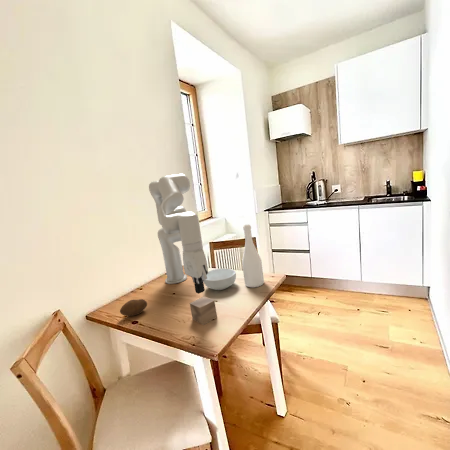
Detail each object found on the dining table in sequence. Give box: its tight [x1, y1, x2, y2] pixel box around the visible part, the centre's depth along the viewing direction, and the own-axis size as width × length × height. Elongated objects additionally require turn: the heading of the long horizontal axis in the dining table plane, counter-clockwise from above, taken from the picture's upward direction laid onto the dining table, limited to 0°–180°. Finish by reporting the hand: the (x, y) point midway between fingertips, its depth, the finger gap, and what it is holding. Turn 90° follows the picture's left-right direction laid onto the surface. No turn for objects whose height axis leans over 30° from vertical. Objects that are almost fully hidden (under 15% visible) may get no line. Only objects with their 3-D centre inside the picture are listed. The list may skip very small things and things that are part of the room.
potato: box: [119, 298, 148, 317], centre depth 113 cm, size 7×12×7 cm, turn 131°
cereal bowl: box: [203, 267, 237, 291], centre depth 130 cm, size 17×17×7 cm
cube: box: [189, 295, 218, 326], centre depth 101 cm, size 7×7×7 cm
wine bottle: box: [241, 223, 265, 288], centre depth 125 cm, size 10×10×30 cm
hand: (200, 291), depth 100 cm, fingers closed
